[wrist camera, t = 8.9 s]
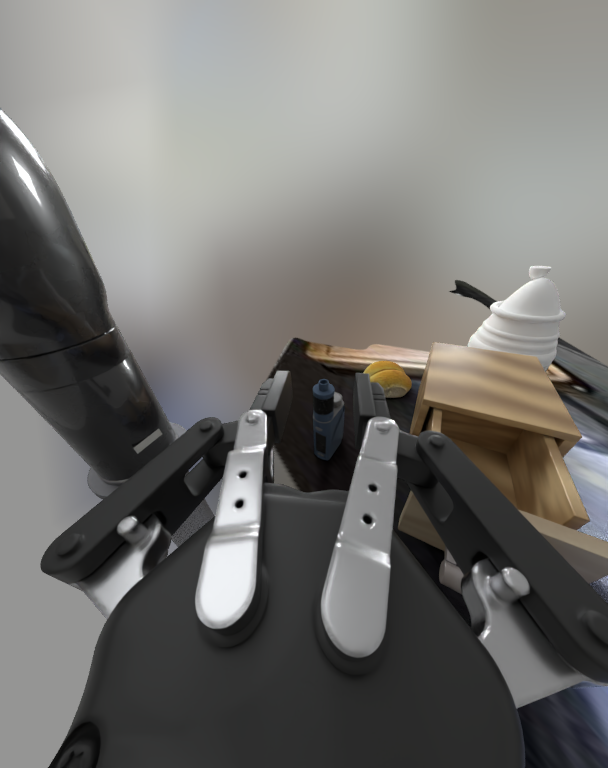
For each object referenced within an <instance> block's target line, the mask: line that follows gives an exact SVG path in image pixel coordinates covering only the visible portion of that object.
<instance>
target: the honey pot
mask: <svg viewBox="0 0 608 768" xmlns="http://www.w3.org/2000/svg"><path fill="white" fill-rule="evenodd" d="M550 269H551V267H547V266H531V267H530V270H529V276H530V278H531V279H532V280H533V281H531V282H529V283H527V284H525V285H524V286H522V287H521V288H519V289H518V290H517V291H515V292H514V293H513V294H512V295H511V296H509V297H508V298H507V299H506V300H505V301H499V302H495V303H494V304H492V305H491V306H490V310H491V311H492V312H493V313H492V314H491V316H490V317H489V318H488V319H486V320H485V321H484V322H483V325H482V326H481V327H479V328H478V330H477V332H476V333H474V334H473V335H472V336H471V338H470V341H469V342H468V345H467V347H472V348H479V349H486V350H493V351H500V352H507V353H514V354H521V355H528V356H535V357H537V358H538V360H539V361H540V363H541V365H542V367H543V368H544V370H545V372H546V370H547V369H548V367H549V366H550V364H551V363H552V360H554V358H555V356H556V353H557V351H556V346H557V344H558V341H557V339H558V337H559V335H560V333H559V323H560V321H561V320H563V319H564V318H565V316H566V313H565V312H564V311H563V310H561V309H560V298H559V293H558V290H557V287H556V285H555V284H554V283H553V282H552V281H551V280H549V279H547V278H544V276H545V275H546V274H547V273H548V272H549V271H550Z"/></svg>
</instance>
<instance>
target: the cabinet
mask: <svg viewBox="0 0 608 768" xmlns="http://www.w3.org/2000/svg"><path fill="white" fill-rule="evenodd" d="M430 406H431V407H435V408H439V409H443V410H447V411H451V412H455V413H459V414H463V415H467V416H471V417H475V418H479V419H483V420H487V421H491V422H495V423H500V424H504V425H508V426H512V427H516V428H520V429H524V430H528V431H532V432H536V433H540V434H544V435H548V436H552V437H554V439H555V442H556V444H557V446H558V449H559V451H560V453H561V455H562V458H563V457H564V456H565V455H566V454H567V453H568V452H569V450H570V449H571V448H572V447H573V446H574V445H575V444H576V442H578V441H579V440H580V439H581V438H582V435H581V434H580V432H579V430H578V428H577V427H576V425H575V423H574V421H573V419H572V418H571V416H570V414H569V412H568V411H567V409H566V407H565V405H564V404H563V402H562V400H561V398H560V397H559V395H558V393H557V391H556V390H555V388H554V386H553V384H552V382H551V381H550V379H549V377H548V375H547V374H546V372H545V370H544V368H543V367H542V365H541V363H540V361H539V360H538V358H537V357H535V356H528V355H521V354H514V353H507V352H500V351H493V350H486V349H479V348H472V347H465V346H458V345H451V344H443V343H437V342H433V344H432V347H431V351H430V354H429V357H428V361H427V364H426V367H425V371H424V374H423V377H422V381H421V384H420V387H419V391H418V396H417V401H416V405H415V410H414V415H413V420H412V425H411V430H410V434H412V435H415V436H418V437H419V435H420V433H421V430H422V427H423V425H424V422H425V419H426V416H427V413H428V411H429V408H430Z"/></svg>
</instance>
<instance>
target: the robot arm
mask: <svg viewBox="0 0 608 768" xmlns="http://www.w3.org/2000/svg"><path fill="white" fill-rule="evenodd" d="M0 374H1V375H2V376H3V377H4V378H5V380H7V382H9V384H10V385H11V386H12V387H13V388H15V389H16V390H17V392H18V393H20V395H21V396H22V397H23V398H24V399H25V400H26V401H27V402H28V403H29V404H30V405H31V406H32V407H33V408H34V409H35V410H36V411H37V412H38V413H39V414H40V415H41V416H42V417H43V418H44V419H45V420H46V421H47V422H48V423H49V424H50V425H51V426H52V427H53V428H54V430H55V431H56V432H58V434H59V435H60V436H61V437H62V438H63V439H64V440H65V441H66V442H67V443H68V444H69V445H70V446H71V447H72V448H73V449H74V450H75V451H76V452H77V453H78V454H79V455H80V456H81V457H82V458H83V459H84V461H85V462H86V463H87V464H88V465H89V466H90V467H91V468H92V469H93V470H94V471H95V472H96V474H97V475H98V477H99V478H100V479H101V480H102V481H103V482H105V483H106V484H108V485H112V486H119V487H118V488H117V489H116V490H114V491H113V492H112V493H111V494H110V495H108V496H107V497H106V498H105V499H103V500H102V501H101V502H100V503H99V504H97V505H96V506H95V507H94V508H93V509H91V510H90V511H89V512H88V513H87V514H86V515H84V516H83V517H82V518H80V519H79V520H78V521H77V522H76V523H74V524H73V525H72V526H71V527H70V528H68V529H67V530H66V531H65V532H63V533H62V534H61V535H60V536H59V537H58V538H56V539H55V540H54V541H53V543H52V544H51V545H50V546H49V547H48V549H47V550H46V552H45V554H44V555H43V557H42V560H41V570H42V571H43V572H44V573H46V574H48V575H50V576H52V577H54V578H56V579H58V580H60V581H62V582H65V583H67V584H69V585H71V586H73V587H75V588H77V589H79V590H81V591H83V592H84V593H85V594H86V595H87V596H88V598H89V599H90V600H91V601H92V602H93V603H94V605H95V606H96V607H97V608H98V609H99V611H100V612H101V613H102V614H103V615H104V617H105V618H106V619H107V621H106V623H105V625H104V627H103V629H102V631H101V634H100V636H99V639H98V641H97V644H96V647H95V651H94V655H93V660H92V664H91V668H90V673H89V676H88V680H87V683H86V687H85V690H84V693H83V696H82V699H81V702H80V705H79V707H78V710H77V712H76V715H75V717H74V720H73V722H72V725H71V727H70V730H69V732H68V734H67V736H66V738H65V740H64V742H63V744H62V746H61V747H60V749H59V751H58V753H57V754H56V756H55V758H54V759H53V761H52V762H51V764H50V766H49V767H48V768H525V747H524V740H523V732H522V728H521V723H520V719H519V715H518V712H517V708H519V707H522V706H524V705H526V704H529V703H531V702H534V701H536V700H539V699H541V698H544V697H546V696H548V695H551V694H553V693H556V692H558V691H561V690H563V689H566V688H568V687H571V688H590V687H604V686H608V604H607V603H606V602H605V601H604V599H603V598H602V597H601V596H600V595H599V594H598V593H597V592H596V591H595V590H594V589H593V588H592V587H591V586H590V585H589V584H588V583H587V582H586V581H585V580H584V579H583V577H582V576H581V575H580V574H579V573H578V572H577V571H576V570H575V569H574V568H573V567H572V566H571V565H570V564H569V563H568V562H567V561H566V560H565V559H564V558H563V556H562V555H561V554H560V553H559V552H558V551H557V550H556V549H555V548H554V547H553V546H552V545H551V544H550V543H549V542H548V541H547V540H546V539H545V538H544V537H543V536H542V534H541V533H540V532H539V531H538V530H537V529H536V528H535V527H534V526H533V525H532V524H531V523H530V522H529V521H528V520H527V519H526V518H525V517H524V516H523V515H522V514H521V512H520V511H519V510H518V509H517V508H516V507H515V506H514V505H513V504H512V503H511V502H510V501H509V500H508V499H507V498H506V497H505V496H504V495H503V494H502V493H501V491H500V490H499V489H498V488H497V487H496V486H495V485H494V484H493V483H492V482H491V481H490V480H489V479H488V478H487V477H486V476H485V475H484V474H483V473H482V472H481V471H480V469H479V468H478V467H477V466H476V465H475V464H474V463H473V462H472V461H471V460H470V459H469V458H468V457H467V456H466V455H465V454H464V453H463V452H462V451H461V450H460V448H459V447H458V446H457V445H456V444H455V443H454V442H453V441H452V440H451V439H450V438H449V437H447V436H446V435H444V434H442V433H440V432H437V431H424V432H422V433H420V435H419V437H418V436H415V435H412V434H409V433H406V432H403V431H401V430H399V427H398V425H397V424H396V423H395V422H394V421H393V420H391V418H390V414H389V410H388V406H387V402H386V397H385V393H384V389H383V387H382V386H381V385H380V384H379V383H378V382H370V377H369V373H356V374H355V384H354V394H353V410H354V428H355V446H356V449H361V451H360V454H359V455H358V459H357V463H356V467H355V471H354V475H353V478H352V482H351V486H350V490H349V491H342V490H325V491H318V492H312V493H305V492H302V491H299V490H296V489H294V488H291V487H289V486H286V485H283V484H274V451H273V444H274V443H280V442H281V438H282V434H283V431H284V427H285V424H286V420H287V417H288V413H289V410H290V406H291V402H292V383H291V374H290V371H277V372H276V374H275V377H274V379H267V380H266V381H265V382H264V383H263V384H262V386H261V388H260V390H259V392H258V395H257V396H256V398H255V400H254V402H253V404H252V406H251V408H250V411H247V412H245V413H244V414H242V415H241V416H240V418H239V420H238V421H234V422H229V423H224V424H222V423H221V421H220V420H219V419H218V418H214V417H209V418H205V419H202V420H200V421H199V422H197V423H196V424H195V425H193V426H192V427H191V428H190V429H188V430H187V431H186V432H185V433H184V434H182V435H181V436H180V437H179V438H178V435H177V434H176V432H175V430H174V429H173V428H172V426H171V424H170V423H169V421H168V419H167V417H166V415H165V413H164V411H163V409H162V408H161V406H160V404H159V402H158V400H157V399H156V397H155V395H154V393H153V391H152V389H151V387H150V385H149V384H148V382H147V380H146V378H145V376H144V375H143V373H142V371H141V369H140V367H139V365H138V363H137V362H136V360H135V358H134V356H133V354H132V352H131V351H130V349H129V347H128V346H127V344H126V342H125V340H124V338H123V336H122V334H121V332H120V331H119V329H118V327H117V326H116V324H115V322H114V320H113V318H112V316H111V314H110V312H109V309H108V304H107V296H106V290H105V286H104V283H103V281H102V278H101V276H100V274H99V272H98V269H97V268H96V265H95V263H94V261H93V259H92V257H91V254H90V252H89V250H88V248H87V246H86V243H85V241H84V239H83V237H82V235H81V232H80V230H79V228H78V226H77V224H76V221H75V219H74V217H73V215H72V213H71V210H70V208H69V206H68V204H67V202H66V200H65V198H64V196H63V194H62V192H61V190H60V188H59V186H58V184H57V183H56V181H55V179H54V177H53V175H52V174H51V172H50V170H49V169H48V167H47V166H46V164H45V163H44V161H43V159H42V158H41V156H40V155H39V153H38V152H37V150H36V149H35V148H34V146H33V145H32V144H31V142H30V141H29V140H28V138H27V137H26V136H25V134H23V132H22V131H21V130H20V129H19V127H18V126H17V125H16V124H15V123H14V122H13V121H12V119H11V118H10V117H9V116H8V115H7V114H6V113H5V112H4V111H3V110H2V109H1V108H0ZM201 457H203V459H202V460H201V461H200V462H199V463H198V464H197V465H196V466H195V468H193V469H192V470H191V471H190V472H189V473H188V474H187V475H186V476H185V474H186V473H187V471H188V470H189V469H190V468H191V467H192V466H193V465H194V464H195V463H196V462H197V461H198V460H199V459H200V458H201ZM222 477H223V481H222V486H221V491H220V496H219V500H218V506H217V511H216V516H215V517H213V518H212V519H211V520H210V521H209V522H208V523H206V524H205V525H204V526H203V527H202V528H201V529H199V530H198V531H197V532H196V533H195V534H193V535H192V536H191V537H190V538H189V539H188V540H186V541H185V542H184V543H183V544H182V545H180V546H179V547H178V548H177V549H176V550H175V551H174V552H172V553H171V554H170V555H169V556H168V557H167V555H168V549H169V546H170V543H171V536H172V535H173V534H174V533H175V532H176V531H177V529H178V528H179V527H180V526H181V525H182V524H183V522H184V521H185V520H186V519H187V518H188V517H189V516H190V514H191V513H192V512H193V511H194V510H195V509H196V507H197V506H198V505H199V504H200V503H201V502H202V501H203V499H204V498H205V497H206V496H207V495H208V494H209V492H210V491H211V490H212V489H213V487H214V486H215V485H216V484H217V483H218V482H219V481H220V479H222ZM397 478H400V479H402V480H405V481H406V483H407V484H408V486H409V488H410V489H411V491H412V492H413V494H414V496H415V497H416V499H417V500H418V502H419V504H420V505H421V507H422V509H423V510H424V512H425V513H426V515H427V517H428V518H429V520H430V521H431V523H432V525H433V526H434V528H435V529H436V531H437V533H438V534H439V536H440V538H441V539H442V541H443V542H444V544H445V546H446V547H447V549H448V550H449V552H450V554H451V555H452V557H453V559H454V560H455V562H456V563H457V565H458V567H459V568H460V570H461V571H462V573H463V575H464V576H463V577H462V580H461V593H462V596H463V599H464V601H465V603H466V606H467V608H468V610H469V613H470V617H471V623H472V629H471V628H470V627H469V626H468V624H467V623H466V622H465V621H464V619H463V618H462V617H461V616H460V614H459V613H458V612H457V610H456V609H455V608H454V607H453V605H452V604H451V603H450V602H449V600H448V599H447V598H446V596H445V595H444V594H443V593H442V591H441V590H440V589H439V588H438V586H437V585H436V584H435V582H434V581H433V580H432V579H431V577H430V576H429V575H428V574H427V572H426V571H425V570H424V568H423V567H422V566H421V565H420V563H419V562H418V561H417V560H416V558H415V557H414V556H413V554H412V553H411V552H410V551H409V549H408V548H407V547H406V546H405V544H404V543H403V542H402V541H401V539H400V538H399V537H398V535H397V534H396V533H395V532H394V530H393V529H392V527H393V516H394V504H395V493H396V481H397Z"/></svg>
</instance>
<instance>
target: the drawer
mask: <svg viewBox="0 0 608 768" xmlns="http://www.w3.org/2000/svg"><path fill="white" fill-rule="evenodd" d="M424 431H437V432H440V433H442V434H444V435H446V436H447V437H449V438H450V439H451V440H452V441H453V442H454V443H455V444H456V445H457V446H458V447H459V448H460V450H461V451H462V452H463V453H464V454H465V455H466V456H467V457H468V458H469V459H470V460H471V461H472V462H473V463H474V464H475V465H476V466H477V467H478V468H479V469H480V471H481V472H482V473H483V474H484V475H485V476H486V477H487V478H488V479H489V480H490V481H491V482H492V483H493V484H494V485H495V486H496V487H497V488H498V489H499V490H500V491H501V493H502V494H503V495H504V496H505V497H506V498H507V499H508V500H509V501H510V502H511V503H512V504H513V505H514V506H515V507H516V508H517V509H518V510H519V511H520V512H521V514H522V515H523V516H524V517H525V518H526V519H527V520H528V521H529V522H530V523H531V524H532V525H533V526H534V527H535V528H536V529H537V530H538V531H539V532H540V533H541V534H542V536H543V537H544V538H545V539H546V540H547V541H548V542H549V543H550V544H551V545H552V546H553V547H554V548H555V549H556V550H557V551H558V552H559V553H560V554H561V555H562V556H563V558H564V559H565V560H566V561H567V562H568V563H569V564H570V565H571V566H572V567H573V568H574V569H575V570H576V571H577V572H578V573H579V574H580V575H581V576H582V577H583V579H584V580H585V581H586V582H587V583H588V584H590V583H592V582H594V581H596V580H598V579H601V578H603V577H605V576H607V575H608V542H607V541H604V540H601V539H598V538H596V537H593V536H590V535H587V534H584V533H582V532H579V531H576V530H578V529H579V528H581V527H582V526H583V525H585V524H586V523H588V522H589V521H590V519H589V517H588V515H587V512H586V510H585V508H584V506H583V503H582V501H581V499H580V496H579V494H578V492H577V490H576V487H575V485H574V483H573V480H572V478H571V476H570V474H569V471H568V469H567V467H566V464H565V462H564V460H563V458H562V455H561V453H560V451H559V449H558V446H557V444H556V442H555V439H554V437H552V436H548V435H544V434H540V433H536V432H532V431H528V430H524V429H520V428H516V427H512V426H508V425H504V424H500V423H495V422H491V421H487V420H483V419H479V418H475V417H471V416H467V415H463V414H459V413H455V412H451V411H447V410H443V409H439V408H435V407H431V406H430V408H429V411H428V413H427V416H426V419H425V422H424V425H423V427H422V430H421V433H422V432H424ZM398 530H401V531H403V532H405V533H407V534H409V535H411V536H413V537H415V538H418V539H420V540H422V541H424V542H426V543H428V544H430V545H432V546H434V547H437V548H439V549H441V550H443V551H445V556H444V560H443V561H442V563H441V565H440V570H439V580H440V583H441V584H443V585H445V586H447V587H449V588H451V589H453V590H454V591H456V592H458V593H460V594H462V593H461V580H462V577H463V576H464V575H463V573H462V571H461V570H460V568H459V567H457V566H455V565H456V562H455V560H454V559H453V557H452V555H451V554H450V552H449V550H448V549H447V547H446V546H445V544H444V542H443V541H442V539H441V538H440V536H439V534H438V533H437V531H436V529H435V528H434V526H433V525H432V523H431V521H430V520H429V518H428V517H427V515H426V513H425V512H424V510H423V509H422V507H421V505H420V504H419V502H418V500H417V499H416V497H415V496H414V494H413V492H412V491H410V494H409V496H408V499H407V501H406V504H405V506H404V509H403V511H402V514H401V516H400V519H399V525H398Z"/></svg>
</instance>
